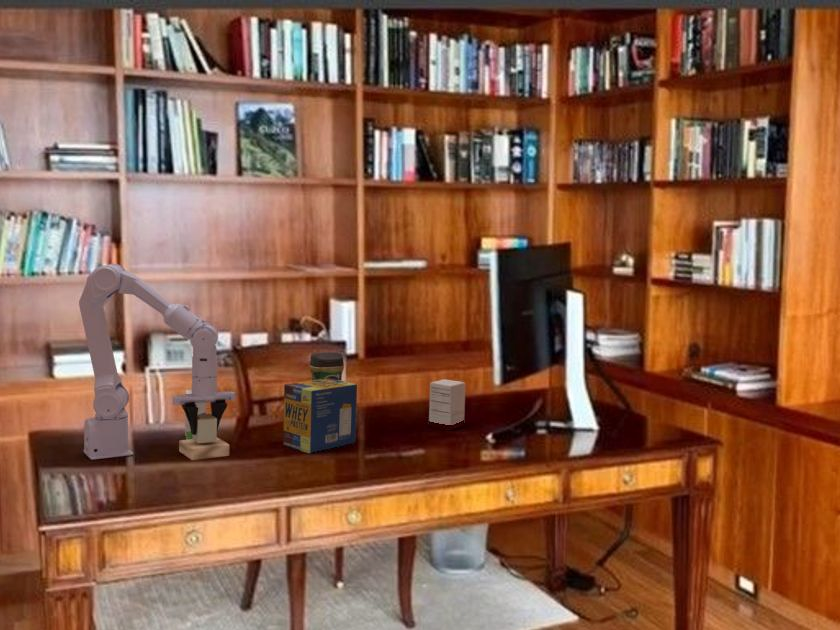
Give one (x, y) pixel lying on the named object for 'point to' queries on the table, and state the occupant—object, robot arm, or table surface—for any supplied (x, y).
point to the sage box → (206, 429)
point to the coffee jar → (326, 365)
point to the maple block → (203, 449)
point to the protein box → (319, 414)
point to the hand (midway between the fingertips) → (204, 432)
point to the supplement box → (447, 402)
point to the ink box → (200, 411)
